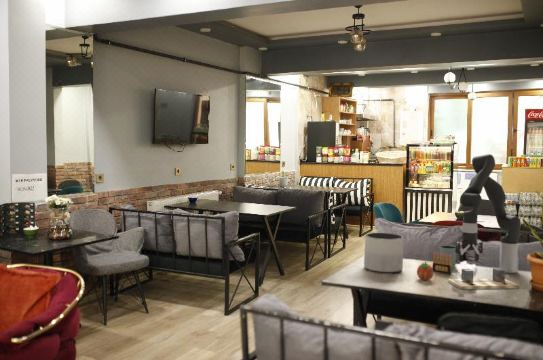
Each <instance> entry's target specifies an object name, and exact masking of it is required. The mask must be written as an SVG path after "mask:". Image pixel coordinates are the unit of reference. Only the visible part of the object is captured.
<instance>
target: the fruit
mask: <svg viewBox="0 0 543 360" xmlns="http://www.w3.org/2000/svg"><path fill="white" fill-rule="evenodd" d="M416 274H417V277H418V279H420V280H422V281H430V280H431V279H432V278H433V276H434V272H433V269H432V266H431V265H430V264H428V263H427V261H424V263H421V264H419V266H418V267H417V270H416Z"/></svg>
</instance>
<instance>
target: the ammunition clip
mask: <svg viewBox="0 0 543 360" xmlns="http://www.w3.org/2000/svg"><path fill="white" fill-rule="evenodd" d="M431 267H432V269H433V273H438V274H446V275H452V268H451V253H450V255H449V261H448V253H447V254H446V260H445V253H443V259H442V252H441V253H440V251H437V252H436V251H434V252H433V258H432V266H431Z"/></svg>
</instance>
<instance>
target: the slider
mask: <svg viewBox="0 0 543 360" xmlns="http://www.w3.org/2000/svg"><path fill="white" fill-rule="evenodd" d="M474 273H475V271H474V270H473V269H470V268H461V273H460V274H461V276H460V279H461V280H463V281H465V282H470V283H473V279H474Z"/></svg>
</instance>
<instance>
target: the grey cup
mask: <svg viewBox="0 0 543 360" xmlns="http://www.w3.org/2000/svg"><path fill="white" fill-rule="evenodd" d="M455 249H456V245H450V244H449V245H447V244H444V245H443V244H442V245H440V246H439V254H440V253H441V252H442V259H443V253H445V260H446V254H447V253H448V261H449V255H450V253H451V269H453V268H452V267H454V266H455V267H456V259H457V253H455ZM455 267H454V268H455Z"/></svg>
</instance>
